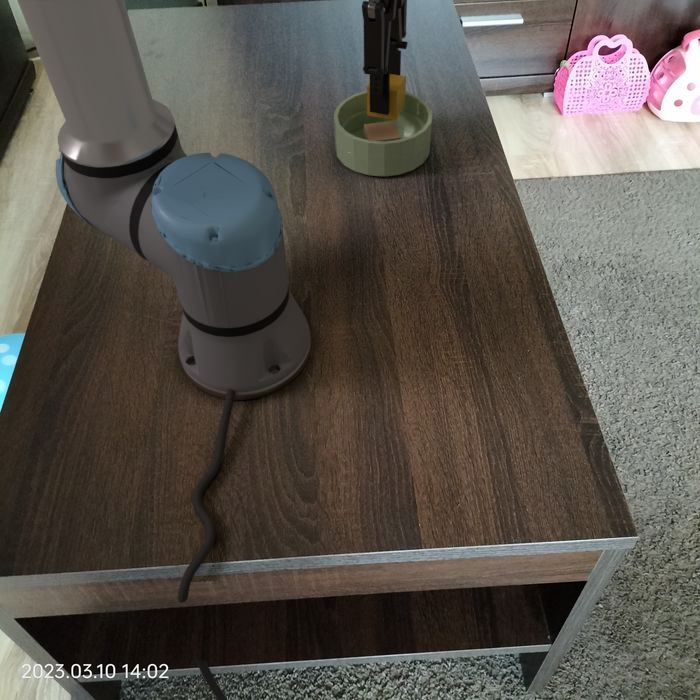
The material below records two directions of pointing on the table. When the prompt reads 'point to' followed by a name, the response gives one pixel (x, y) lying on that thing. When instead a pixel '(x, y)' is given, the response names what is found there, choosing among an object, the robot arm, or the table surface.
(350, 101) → the pale green pet bowl
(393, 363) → the table surface
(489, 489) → the table surface
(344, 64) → the table surface
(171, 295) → the table surface
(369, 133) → the beech block
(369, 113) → the mustard block
